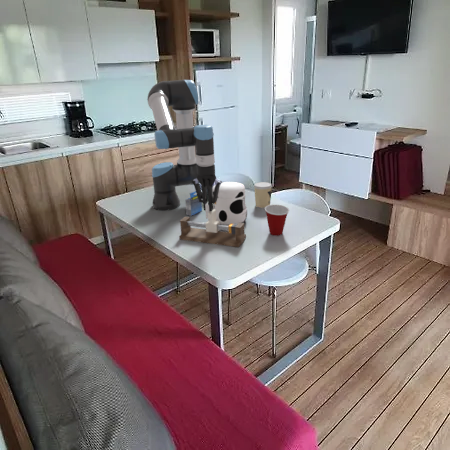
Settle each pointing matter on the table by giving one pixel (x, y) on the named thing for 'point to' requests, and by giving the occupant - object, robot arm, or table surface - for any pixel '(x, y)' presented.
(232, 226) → the metal rail
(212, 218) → the cream stepped block
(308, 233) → the table surface
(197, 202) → the label tape box
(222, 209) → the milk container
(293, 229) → the table surface
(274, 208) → the plastic cup
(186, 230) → the wooden rail holder
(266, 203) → the coffee cup
